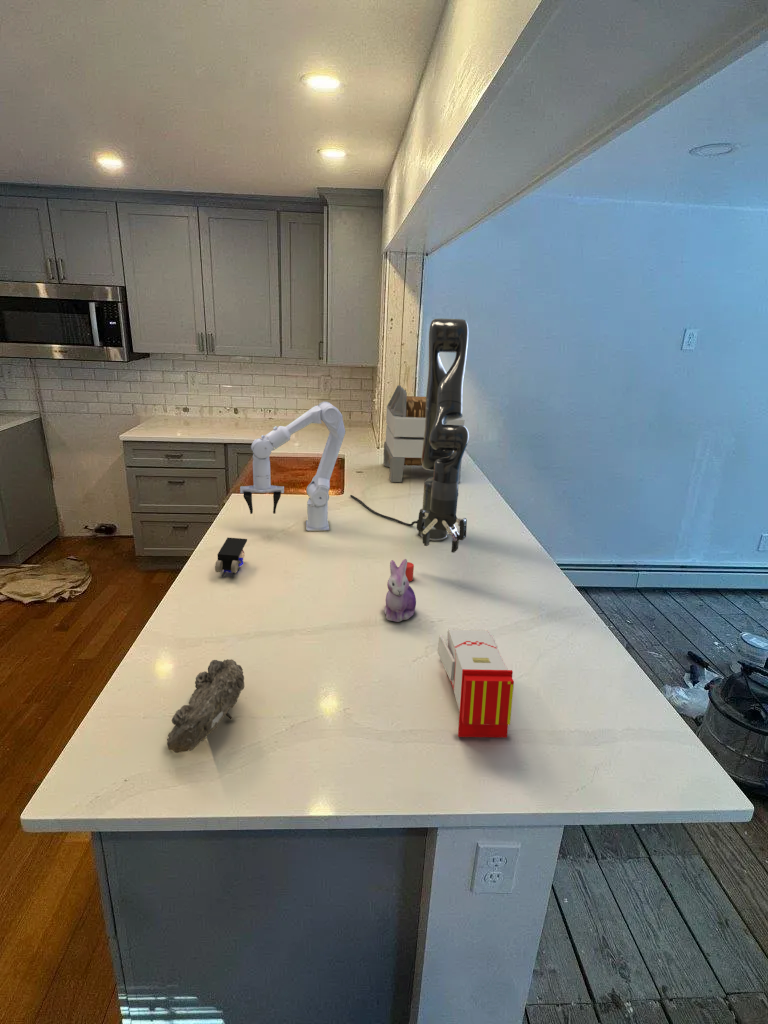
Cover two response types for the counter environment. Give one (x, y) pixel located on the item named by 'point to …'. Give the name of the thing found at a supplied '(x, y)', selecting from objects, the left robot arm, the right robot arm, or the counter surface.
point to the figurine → (399, 594)
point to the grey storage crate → (406, 432)
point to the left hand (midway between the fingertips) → (263, 512)
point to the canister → (409, 571)
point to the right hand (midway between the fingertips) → (440, 548)
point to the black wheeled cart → (230, 556)
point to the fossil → (206, 705)
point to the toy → (478, 682)
